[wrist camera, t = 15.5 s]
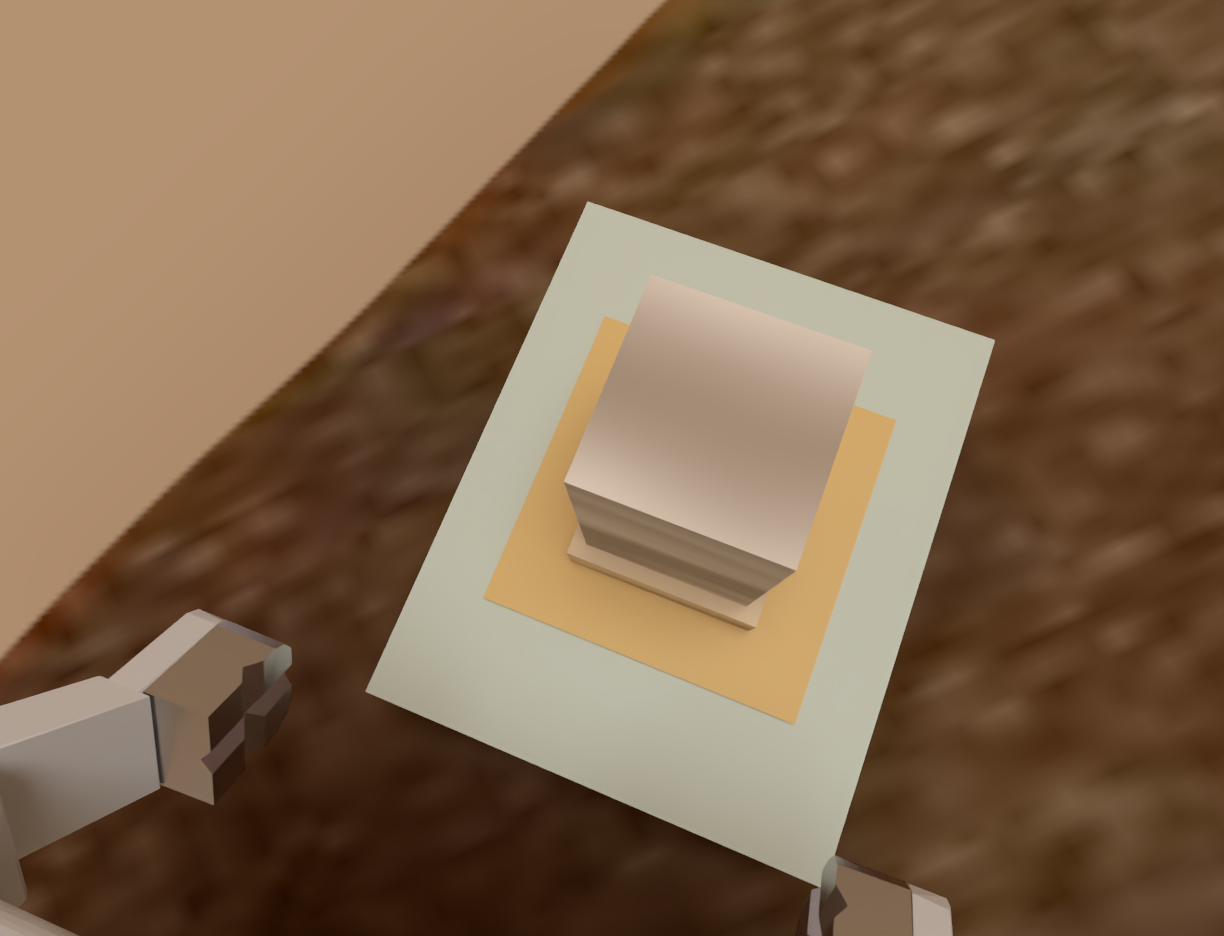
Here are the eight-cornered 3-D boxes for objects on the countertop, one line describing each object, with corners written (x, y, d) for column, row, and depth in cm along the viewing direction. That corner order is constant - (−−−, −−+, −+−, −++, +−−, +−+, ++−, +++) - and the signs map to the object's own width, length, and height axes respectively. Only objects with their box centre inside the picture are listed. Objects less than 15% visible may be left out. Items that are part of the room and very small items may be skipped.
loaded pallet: (748, 631, 23) (811, 600, 15) (570, 561, 23) (534, 494, 15) (809, 458, 24) (899, 339, 16) (638, 395, 25) (639, 250, 16)
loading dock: (795, 857, 25) (825, 890, 21) (404, 690, 27) (362, 691, 23) (946, 386, 29) (997, 337, 25) (594, 263, 30) (587, 198, 26)
